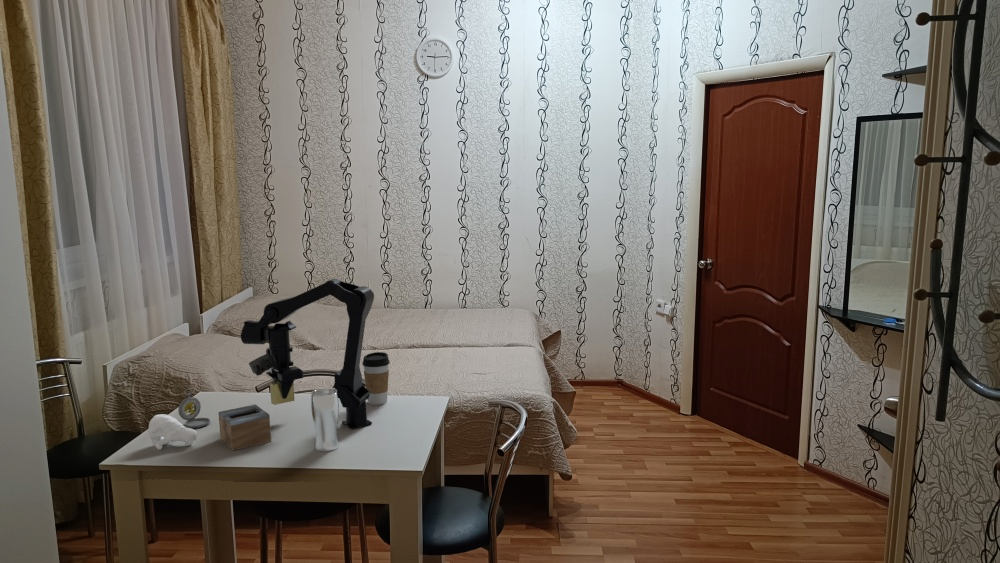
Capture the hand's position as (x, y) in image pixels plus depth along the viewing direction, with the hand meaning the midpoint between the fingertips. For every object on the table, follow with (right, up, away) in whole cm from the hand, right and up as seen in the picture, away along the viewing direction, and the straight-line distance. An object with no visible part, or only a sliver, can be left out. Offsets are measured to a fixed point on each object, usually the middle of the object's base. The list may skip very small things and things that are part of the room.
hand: (282, 397), depth 210 cm
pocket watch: (-25, -8, -1) cm, 26 cm away
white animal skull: (-24, -10, -17) cm, 31 cm away
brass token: (0, -1, 0) cm, 1 cm away
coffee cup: (+25, -4, +17) cm, 30 cm away
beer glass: (+17, -10, -20) cm, 28 cm away
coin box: (-6, -9, -14) cm, 18 cm away
